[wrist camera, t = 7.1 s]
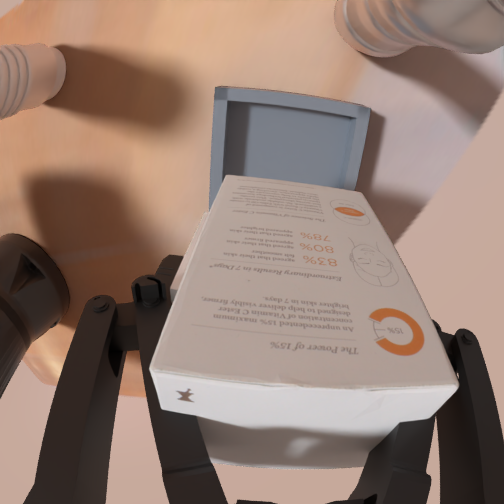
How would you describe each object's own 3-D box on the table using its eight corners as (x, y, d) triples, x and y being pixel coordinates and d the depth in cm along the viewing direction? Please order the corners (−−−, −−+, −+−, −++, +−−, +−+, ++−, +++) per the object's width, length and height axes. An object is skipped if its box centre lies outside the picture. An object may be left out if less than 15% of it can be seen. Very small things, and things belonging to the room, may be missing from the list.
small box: (219, 265, 21) (171, 459, 10) (224, 171, 17) (140, 367, 6) (340, 278, 21) (376, 469, 10) (365, 190, 17) (467, 384, 6)
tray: (212, 240, 31) (207, 254, 29) (220, 86, 23) (215, 87, 21) (331, 253, 31) (334, 268, 29) (362, 104, 23) (371, 108, 21)
